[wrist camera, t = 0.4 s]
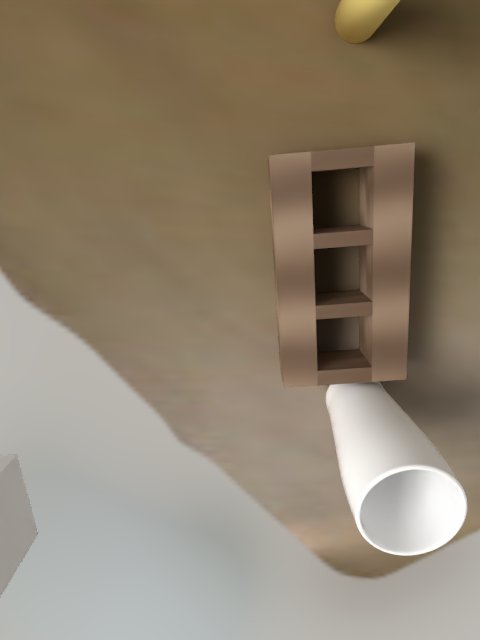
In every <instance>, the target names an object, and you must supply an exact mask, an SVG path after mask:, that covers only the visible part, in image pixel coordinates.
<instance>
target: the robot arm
mask: <svg viewBox="0 0 480 640" xmlns="http://www.w3.org/2000/svg"><path fill="white" fill-rule="evenodd" d="M37 535H38V532H37V528H36V525H35V521H34V517H33V514H32V509H31V506H30V502H29V498H28V494H27V491H26V487H25V483H24V479H23V475H22V472H21V468H20V464H19V460H18V457H17V454H9V455H0V597H1V595H2V593H3V592H4V590H5V588H6V587H7V585H8V583H9V582H10V580H11V578H12V577H13V575H14V573H15V572H16V570H17V568H18V567H19V565H20V563H21V562H22V560H23V558H24V557H25V555H26V553H27V552H28V550H29V548H30V547H31V545H32V543H33V542H34V540H35V538H36V537H37Z"/></svg>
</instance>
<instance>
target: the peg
mask: <svg viewBox="0 0 480 640" xmlns="http://www.w3.org/2000/svg"><path fill="white" fill-rule="evenodd" d="M399 1H400V0H341V1H340V3H339V5H338V7H337V9H336V13H335V27H336V30H337V32H338V34H339V36H340V37H341V38H342V39H343V40H345V41H346V42H349V43H354V44H356V43H361V42H364V41H366V40H367V39H369V38H370V37H371V36H372V35H373V33H374V32H375V31H376V30H377V28H378V27H379V26H380V25H381V24H382V22H383V21H384V20H385V19H386V17H387V16H388V15H389V14H390V12H391V11H392V10H393V9H394V8H395V6H396V5H397V4H398V3H399Z"/></svg>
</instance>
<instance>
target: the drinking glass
mask: <svg viewBox="0 0 480 640" xmlns="http://www.w3.org/2000/svg"><path fill="white" fill-rule="evenodd" d="M326 405H327V409H328V412H329V415H330V420H331V425H332V430H333V435H334V441H335V447H336V452H337V458H338V464H339V469H340V474H341V479H342V483H343V486H344V490H345V493H346V497H347V500H348V503H349V506H350V508H351V511H352V514H353V516H354V519H355V521H356V524H357V527H358V529H359V531H360V533H361V534H362V536H363V537H364V538H365V539H366V540H367V541H368V542H369V543H370V544H371V545H373V546H374V547H376V548H378V549H379V550H382V551H384V552H387V553H391V554H395V555H418V554H423V553H426V552H429V551H432V550H435V549H437V548H439V547H441V546H442V545H444V544H445V543H447V542H448V541H449V540H451V539H452V538H453V537H454V536H455V535H456V533H457V532H458V531H459V530H460V528H461V526H462V525H463V523H464V520H465V517H466V514H467V498H466V494H465V491H464V489H463V487H462V486H461V484H460V483H459V481H458V479H457V478H456V476H455V474H454V473H453V471H452V470H451V468H450V466H449V465H448V463H447V462H446V460H445V459H444V458H443V456H442V455H441V453H440V452H439V451H438V449H437V448H436V447H435V446H434V444H433V443H432V442H431V441H430V439H429V438H428V437H427V436H426V435H425V434H424V432H423V431H422V430H421V429H420V428H419V427H418V426H417V425H416V424H415V423H414V421H413V420H412V419H411V418H410V417H409V416H408V415H407V414H406V413H405V412H404V410H403V409H402V408H401V407H400V406H399V405H398V404H397V403H396V402H395V400H394V399H393V398H392V397H391V396H390V395H389V394H388V393H387V391H386V390H385V389H384V387H383V386H382V384H381V383H380V382H379V381H378V382H363V383H349V384H334V385H330V386H329V388H328V390H327V393H326Z"/></svg>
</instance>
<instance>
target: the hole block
mask: <svg viewBox="0 0 480 640" xmlns="http://www.w3.org/2000/svg"><path fill="white" fill-rule="evenodd" d="M414 157H415V142H414V143H403V144H391V145H380V146H369V147H357V148H346V149H335V150H324V151H312V152H301V153H290V154H278V155H270V157H269V158H268V169H269V186H270V203H271V220H272V237H273V254H274V271H275V288H276V306H277V323H278V340H279V357H280V370H281V375H282V381H283V386H284V388H290V387H305V386H319V385H334V384H349V383H363V382H378V381H393V380H407V352H408V325H409V297H410V269H411V241H412V213H413V185H414ZM359 168H360V225H353V226H340V227H328V228H316V229H313V209H312V177H311V173H313V172H325V171H336V170H348V169H359ZM359 245H360V290H352V291H339V292H326V293H315V274H314V249H322V248H334V247H347V246H359ZM357 316H360V330H359V350H345V351H331V352H317V338H316V319H329V318H343V317H357Z"/></svg>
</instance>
